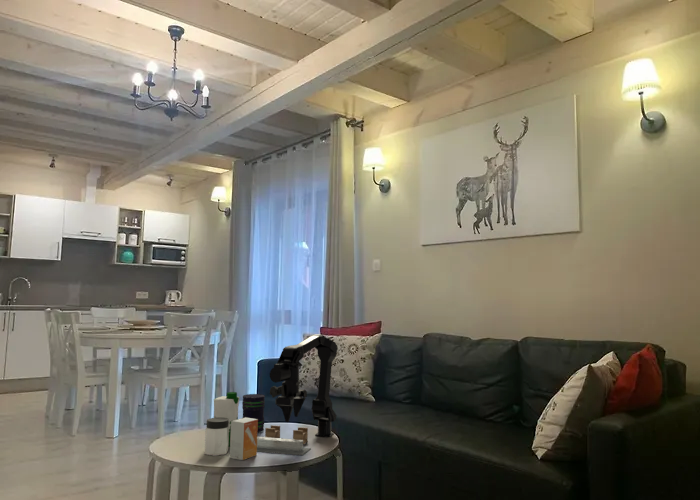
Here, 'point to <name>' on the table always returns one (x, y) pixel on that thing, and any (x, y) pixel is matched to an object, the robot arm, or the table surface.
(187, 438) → the table surface
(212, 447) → the jar
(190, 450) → the table surface
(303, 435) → the post
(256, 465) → the table surface
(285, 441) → the long white bar
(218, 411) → the milk carton
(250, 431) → the small box
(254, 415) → the storage jar
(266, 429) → the post
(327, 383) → the robot arm
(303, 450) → the mat
